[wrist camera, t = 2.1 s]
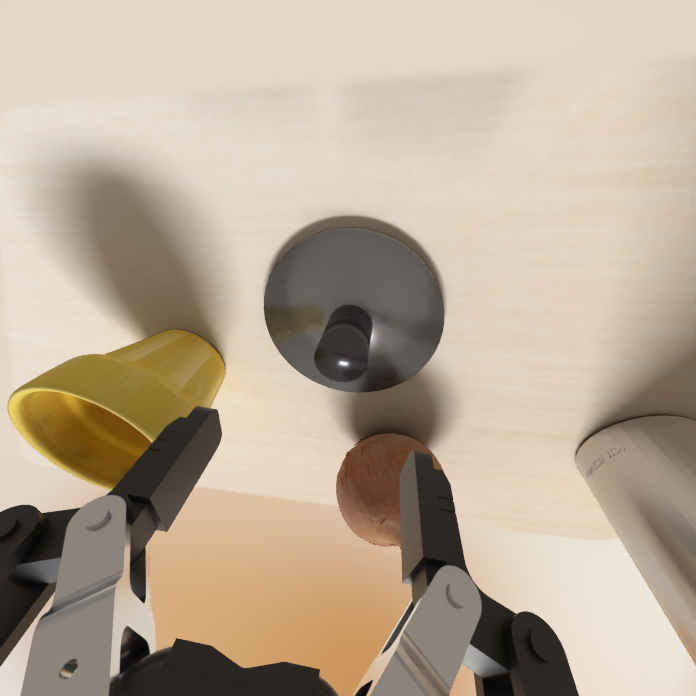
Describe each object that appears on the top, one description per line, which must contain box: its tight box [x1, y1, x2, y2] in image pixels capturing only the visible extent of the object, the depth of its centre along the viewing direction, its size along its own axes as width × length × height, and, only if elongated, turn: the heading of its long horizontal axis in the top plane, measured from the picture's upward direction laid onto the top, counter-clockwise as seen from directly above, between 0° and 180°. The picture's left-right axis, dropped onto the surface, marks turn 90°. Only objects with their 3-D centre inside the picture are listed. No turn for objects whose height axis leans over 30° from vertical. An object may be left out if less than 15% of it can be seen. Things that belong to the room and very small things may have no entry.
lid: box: [264, 227, 444, 392], centre depth 19 cm, size 13×13×6 cm
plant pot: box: [8, 330, 225, 490], centre depth 21 cm, size 10×10×10 cm
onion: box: [336, 433, 443, 550], centre depth 24 cm, size 10×9×10 cm
